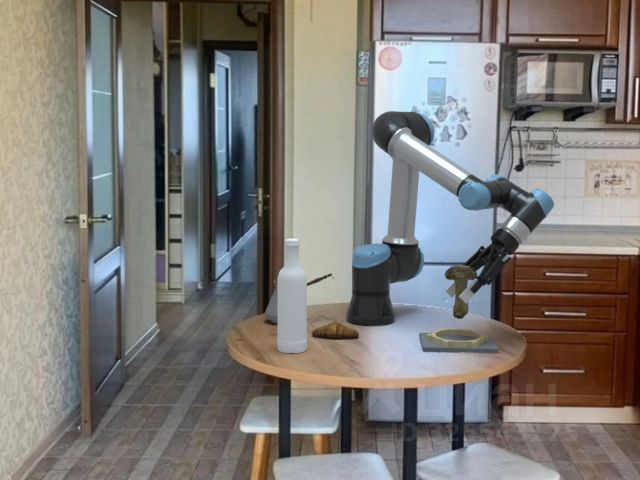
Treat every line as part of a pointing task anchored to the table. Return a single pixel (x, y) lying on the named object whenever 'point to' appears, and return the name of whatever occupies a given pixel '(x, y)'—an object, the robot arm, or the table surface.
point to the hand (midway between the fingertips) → (455, 296)
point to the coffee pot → (272, 306)
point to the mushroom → (460, 287)
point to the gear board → (457, 341)
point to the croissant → (335, 331)
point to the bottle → (292, 302)
